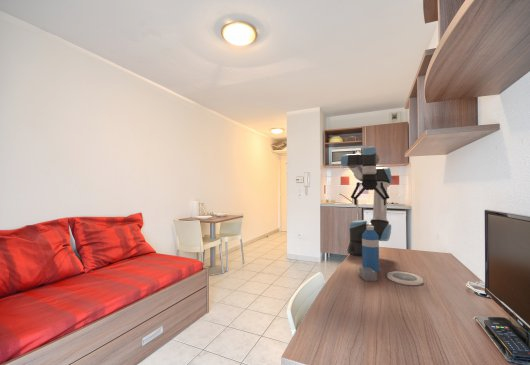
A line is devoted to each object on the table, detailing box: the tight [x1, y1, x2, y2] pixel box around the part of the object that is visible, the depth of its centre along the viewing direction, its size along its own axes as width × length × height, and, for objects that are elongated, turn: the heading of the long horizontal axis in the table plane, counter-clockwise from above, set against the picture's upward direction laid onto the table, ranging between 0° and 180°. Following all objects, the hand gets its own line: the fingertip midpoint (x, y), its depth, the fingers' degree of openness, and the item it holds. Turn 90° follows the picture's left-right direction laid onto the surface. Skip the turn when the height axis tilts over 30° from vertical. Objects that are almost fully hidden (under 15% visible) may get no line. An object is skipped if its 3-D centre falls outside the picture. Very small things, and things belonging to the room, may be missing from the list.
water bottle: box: [361, 226, 380, 274], centre depth 137 cm, size 9×9×25 cm
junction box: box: [358, 266, 378, 282], centre depth 125 cm, size 8×6×4 cm
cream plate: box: [386, 270, 424, 286], centre depth 123 cm, size 16×16×1 cm
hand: (369, 210), depth 137 cm, fingers open, 13 cm apart
